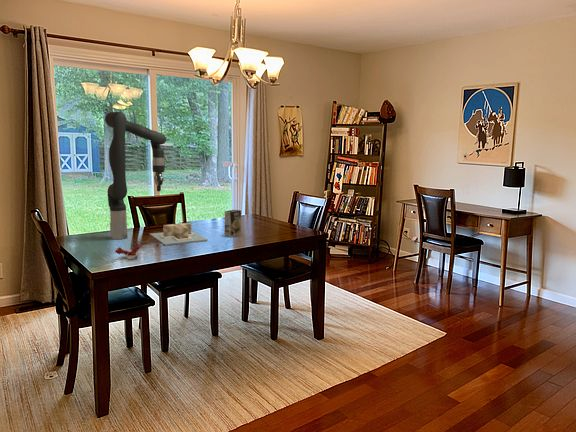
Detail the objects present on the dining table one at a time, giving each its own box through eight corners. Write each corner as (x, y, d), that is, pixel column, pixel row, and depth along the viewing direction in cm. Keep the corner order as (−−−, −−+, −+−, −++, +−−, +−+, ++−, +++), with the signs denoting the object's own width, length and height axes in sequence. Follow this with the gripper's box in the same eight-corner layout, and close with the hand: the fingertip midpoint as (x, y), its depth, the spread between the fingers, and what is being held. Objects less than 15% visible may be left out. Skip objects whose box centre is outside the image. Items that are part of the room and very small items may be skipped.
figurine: (123, 263, 223) (122, 250, 222) (110, 258, 230) (110, 246, 229) (149, 257, 234) (149, 244, 233) (136, 253, 241) (136, 241, 240)
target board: (164, 245, 258) (164, 242, 258) (149, 235, 285) (149, 232, 285) (207, 241, 272) (207, 237, 272) (189, 231, 299) (189, 228, 298)
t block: (171, 241, 266) (171, 229, 265) (163, 236, 278) (163, 225, 277) (197, 238, 274) (196, 226, 273) (188, 233, 287) (188, 222, 286)
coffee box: (231, 237, 283) (231, 212, 280) (224, 235, 287) (224, 210, 284) (241, 235, 290) (241, 210, 287) (234, 233, 294) (234, 209, 291)
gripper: (149, 164, 296) (150, 190, 298) (155, 165, 285) (156, 192, 287) (161, 164, 300) (161, 190, 302) (167, 165, 289) (167, 192, 291)
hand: (158, 191), depth 295 cm, fingers closed
